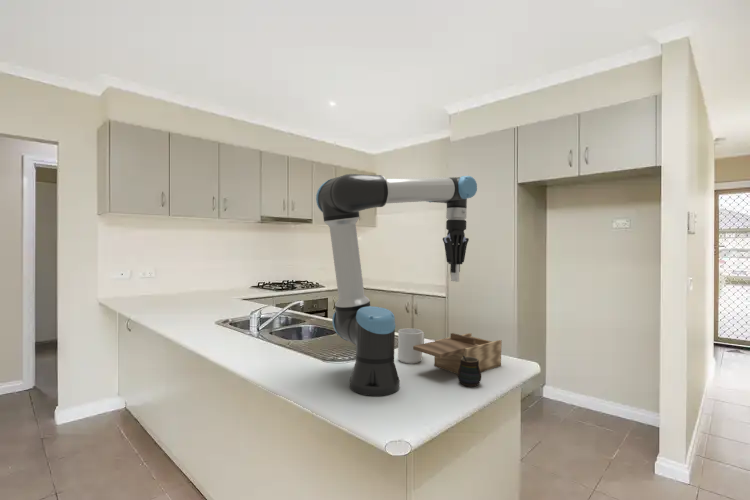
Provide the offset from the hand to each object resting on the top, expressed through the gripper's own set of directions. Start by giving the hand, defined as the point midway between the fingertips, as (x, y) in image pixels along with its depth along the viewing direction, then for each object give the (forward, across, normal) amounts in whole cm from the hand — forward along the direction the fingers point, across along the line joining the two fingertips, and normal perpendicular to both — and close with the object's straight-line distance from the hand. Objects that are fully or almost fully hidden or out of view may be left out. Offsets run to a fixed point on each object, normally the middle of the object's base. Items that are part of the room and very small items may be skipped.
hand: (455, 281), depth 152 cm
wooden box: (+29, -4, -10) cm, 31 cm away
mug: (+30, -15, +7) cm, 34 cm away
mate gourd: (+30, -19, -22) cm, 42 cm away
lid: (+21, -16, -10) cm, 28 cm away
